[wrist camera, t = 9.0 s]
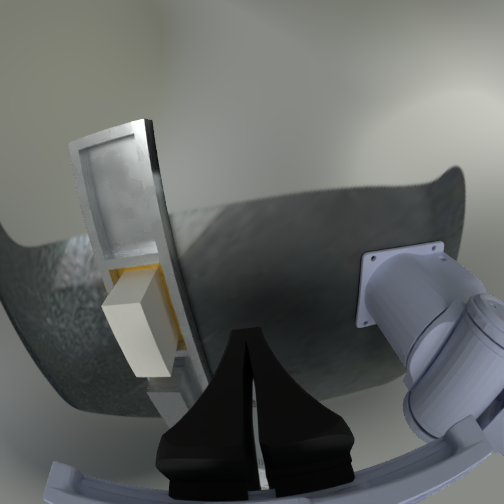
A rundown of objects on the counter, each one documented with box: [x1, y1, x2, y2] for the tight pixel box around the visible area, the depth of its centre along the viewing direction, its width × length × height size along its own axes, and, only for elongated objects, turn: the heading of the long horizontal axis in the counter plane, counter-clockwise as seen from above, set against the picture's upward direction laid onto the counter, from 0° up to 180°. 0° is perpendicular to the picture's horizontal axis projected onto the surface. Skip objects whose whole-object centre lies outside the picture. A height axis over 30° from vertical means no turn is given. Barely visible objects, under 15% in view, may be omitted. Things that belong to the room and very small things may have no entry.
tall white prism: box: [102, 267, 179, 377], centre depth 20 cm, size 3×7×5 cm, turn 6°
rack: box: [68, 119, 212, 428], centre depth 20 cm, size 6×29×6 cm, turn 6°
